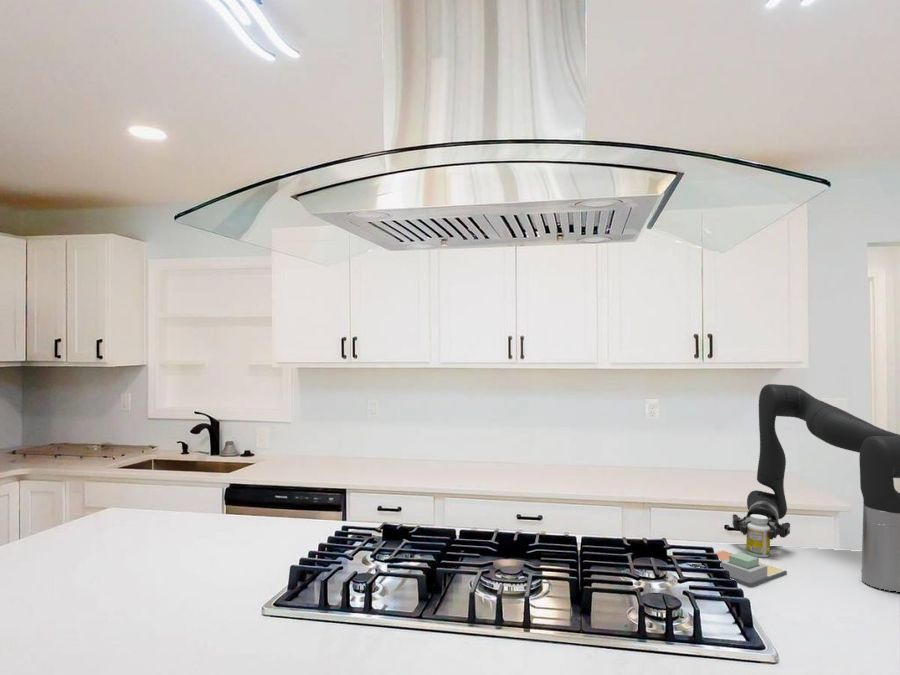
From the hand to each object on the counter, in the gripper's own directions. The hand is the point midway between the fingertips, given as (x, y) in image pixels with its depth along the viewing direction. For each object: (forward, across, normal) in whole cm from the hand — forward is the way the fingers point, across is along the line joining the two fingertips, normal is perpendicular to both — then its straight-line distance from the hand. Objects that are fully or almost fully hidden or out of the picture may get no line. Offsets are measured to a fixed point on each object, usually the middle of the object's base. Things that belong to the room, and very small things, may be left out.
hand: (757, 533), depth 153 cm
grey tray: (+12, -4, +6) cm, 14 cm away
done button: (+18, -2, +4) cm, 18 cm away
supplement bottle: (-3, 0, +6) cm, 7 cm away
